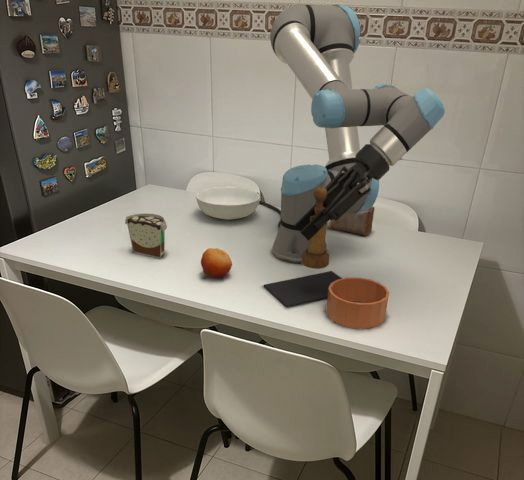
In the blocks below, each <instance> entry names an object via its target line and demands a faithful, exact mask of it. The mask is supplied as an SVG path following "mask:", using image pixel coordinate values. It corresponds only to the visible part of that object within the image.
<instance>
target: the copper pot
mask: <svg viewBox="0 0 524 480" xmlns="http://www.w3.org/2000/svg"><path fill="white" fill-rule="evenodd" d="M341 278H342V279H338V280H336V281H334V282H332V283H331V284H330V286H329V288H328V298H327V299H326V309H325V312H326V315H327V317H328V318H329V319H330V320H331V321H332V322H334V323H335V324H337V325H340V326H343V327H345V328H351V329H357V330H358V329H359V330H360V329H363V330H364V329H371V328H375V327H379V326H380V325H381V324H383V323H384V322H385V319H386V314H387V310H388V304H389V297H390V291H389V290H388V287H386V285H384V284H382V283H381V282H379V281H376V280H373V279H370V278H365V277H356V276H355V277H354V276H353V277H341Z"/></svg>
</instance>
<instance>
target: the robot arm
mask: <svg viewBox="0 0 524 480" xmlns="http://www.w3.org/2000/svg"><path fill="white" fill-rule="evenodd" d="M269 35H270V37H269V38H270V45H271V49H272V51H273V53H274V54H275V57H277V59H278V60H279V61H280V62H281V63H283V64H287V66H288V67H289V69H290V70H291V71H292V73H293V74H294V76H295V77H296V79H297V80H298V81H299V83H300V84H301V86H302V87H303V88H304V90H305V91H306V93H307V94H308V95H309V97H310V99H311V105H310V113H311V116H312V122H313V123H314V125H315V126H316V127H318V128H323V129H324V131H325V138H326V147H327V153H328V161H327V163H326V164H325V165H322V164H302V165H296V166H294V167H291V168H289V169H288V170H286V171H285V172H284V174H283V175H282V182H281V187H280V193H281V194H280V196H281V197H280V208H278V207H276V206H274V205H272V204H270V203H267V202H265V201H262V200H260V201H259V204H261V205H262V206H265V207H268V208H271V209H273V210H274V211H276V212H278V213H279V214H280V221H279V222H278V224H277V227H278V231H277V233H276V236H275V238H274V241H273V245H272V254H273V256H275V258H277V259H279V260H281V261H284V262H287V263H292V264H302V253H303V252H304V251H305V250H306V249H308V241H309V240H310V239H311V238H312V237H313V236H314V235H315V234H316V233H317V232H318V231H319V230H320V229H321V228H322V227H323V226H324V225H325V224H326V223H327V224H328V222H330V220H332V219H334V220H335V221H337V220H338V219H339V218H340V217H341V216H342V215H343V214H348V213H353V214H355V213H358V212H364V211H367V210H369V209H370V208H371V207H372V206H373V207H374V204H375V203H376V202H377V201H376V200H377V199H378V196H379V191H380V180H381V179H382V178H383V177H384V176H385V174H387V173H388V172H389V171H390V168H391V167H394V166H395V165H396V164H398V162H399V161H401V160H403V157H404V156H405V155H406V154H407V153H408V152H409V151H410V150H411V149H412V148H413V147H415V146H416V145H417V144H418V143H419V142H420V141H421V140H422V139H423V138H424V137H425V136H426V135H427V134H428V133H430V131H431V130H433V129H434V127H435V126H436V125H437V124H438V123H439V122H440V120H442V118H443V117H444V116H445V113H446V110H445V106H444V104H443V102H442V100H441V99H440V97H439V96H438V95H437V94H436V93H435V92H434V91H432V89H430V88H427V87H424V88H421V89H420V90H418V91H417V92H415V93H414V94H413V95H410V94H408V93H406V92H404V91H402V90H401V89H399V88H398V87H396V86H395V85H390V84H387V83H380V84H378V85H375V86H374V87H373V88H360V89H359V88H353V83H352V76H351V68H350V67H351V66H350V64H351V63H352V61H353V59H354V57H355V53H356V52H357V51H358V48H359V45H360V37H361V26H360V21H359V18H358V15H357V14H356V12H355V10H354V9H352V7H349V6H346V5H340V4H332V5H327V4H304V3H300V4H299V3H297V4H293V5H289V6H288V7H285V8H284V9H283V10H282V11H281V12H280V13H279V14H278V15H277V16H276V18H275V19H274V21H273V23H272V25H271V29H270V34H269ZM375 126H376V127H377V126H382V127H381V128H380V129H379V130H378V131H377V132H376V133H375V134H374V135H373V136H372V137H371V138H370V139H369V143H367V144H364V146H362V147H361V146H360V145H361V144H360V138H359V130H358V129H359V128H358V127H375ZM317 187H324V188H326V190H327V197H326V199H325V200H324V202H323V207H324V208H325V209H323V208H322V209H321V211H320V212H319V213H318V214H317V215H316V216H315V217H314V218H313V219H312V220H311V221H310V217H311V216H313V215H315V209H314V207H315V206H316V204H317V202H316V200H315V197H314V190H315V189H316V188H317ZM256 192H257V191H256ZM257 193H258V192H257ZM258 194H259V195H260V192H259V193H258ZM324 250H326V252H327V253H328V247H327V242H326V240H325V249H324Z"/></svg>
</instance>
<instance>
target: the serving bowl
mask: <svg viewBox="0 0 524 480" xmlns="http://www.w3.org/2000/svg"><path fill="white" fill-rule="evenodd" d="M195 199H196V204H197V206H198V208H199V209H200V210H201V211H202V212H203V213H204V214H205V215H207V216H209V217H212V218H214V219H218V220H219V219H220V220H226V221H230V220H232V221H233V220H238V219H244V218H247V217H248V216H250V215H251V214H253V213H254V212H255V211H256V210H257V209H258V207H259V204H260V203H259V201H261V194H260V193H259V194H258V193H257V191H255V190H252V189H250V188H245V187H239V186H214V187H208V188H204V189H202V190H199V191H198V192H197V193H196V194H195Z"/></svg>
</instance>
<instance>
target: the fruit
mask: <svg viewBox="0 0 524 480" xmlns="http://www.w3.org/2000/svg"><path fill="white" fill-rule="evenodd" d="M200 266H201V268H202V271H203V274H204V276H203V277H202V278H203V279H205V278H207V277H210V278H213V279H223V278H225V277H226V276H227V275H228V274H229V272H230V271H231V269H232V266H233V261H232V259H231V257H230V255H229V254H228V253H227V252H226V251H225V250H222V249H220V248H218V247H217V248H216V247H215V248H214V247H209V248H206V249H205V251H203V252H202V256H201V259H200Z"/></svg>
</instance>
